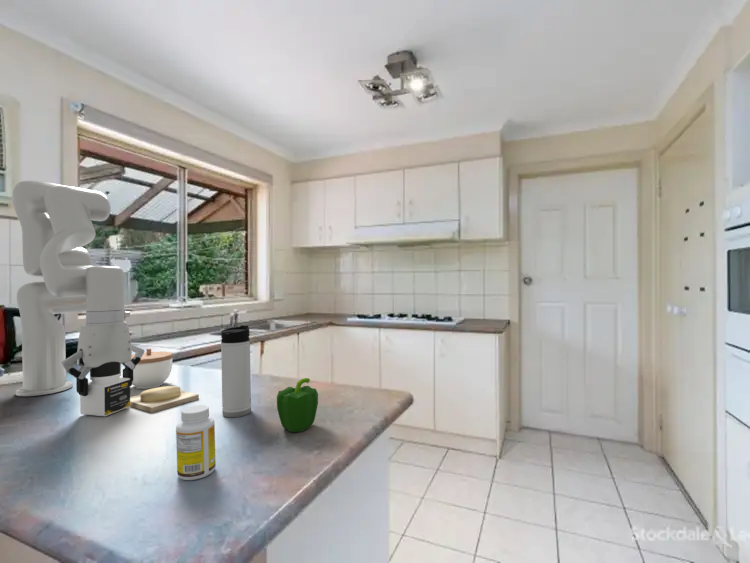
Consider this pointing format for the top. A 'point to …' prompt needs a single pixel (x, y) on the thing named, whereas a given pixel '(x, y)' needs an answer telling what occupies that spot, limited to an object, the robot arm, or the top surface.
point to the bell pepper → (297, 406)
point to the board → (163, 403)
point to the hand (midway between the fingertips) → (106, 389)
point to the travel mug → (236, 371)
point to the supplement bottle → (195, 443)
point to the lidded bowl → (152, 369)
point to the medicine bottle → (106, 391)
